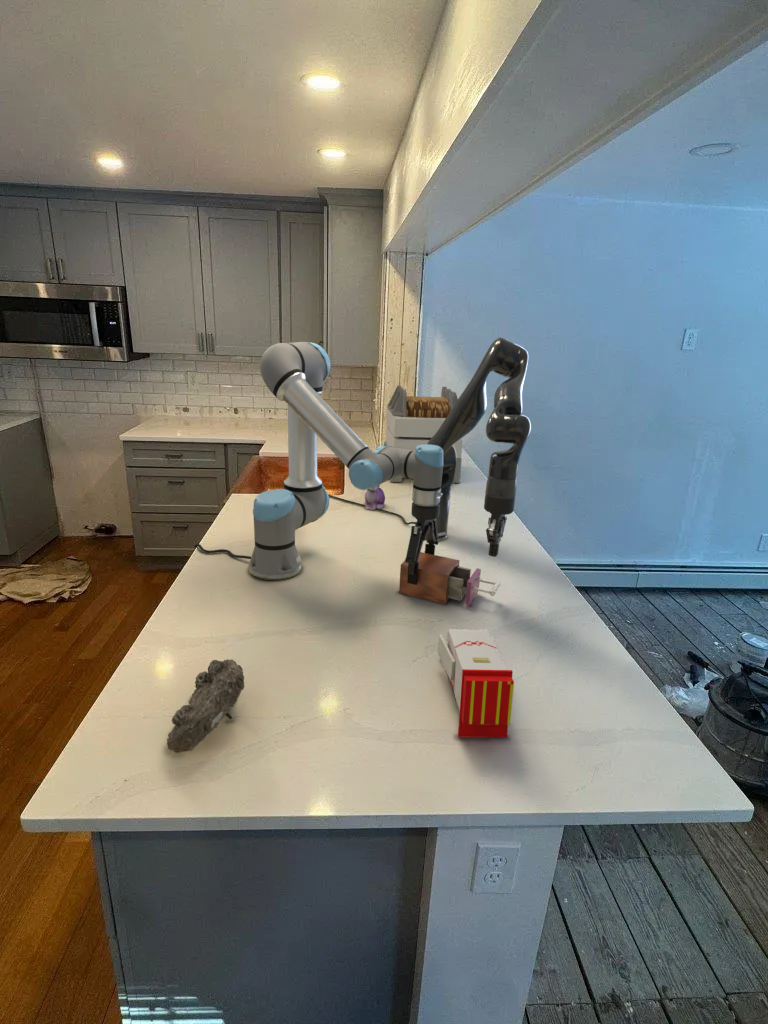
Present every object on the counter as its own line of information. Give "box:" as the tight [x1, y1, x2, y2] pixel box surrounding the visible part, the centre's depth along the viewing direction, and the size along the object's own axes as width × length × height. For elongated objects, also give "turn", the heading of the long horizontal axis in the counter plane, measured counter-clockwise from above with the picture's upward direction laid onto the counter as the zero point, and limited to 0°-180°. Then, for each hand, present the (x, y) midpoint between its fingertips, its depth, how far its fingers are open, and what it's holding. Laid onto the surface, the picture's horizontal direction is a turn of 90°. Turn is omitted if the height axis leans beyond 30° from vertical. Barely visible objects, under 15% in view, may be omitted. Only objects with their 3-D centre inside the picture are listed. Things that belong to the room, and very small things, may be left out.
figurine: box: [363, 484, 386, 511], centre depth 223 cm, size 9×10×15 cm
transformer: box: [383, 384, 464, 484], centre depth 268 cm, size 34×33×41 cm
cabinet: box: [398, 551, 460, 605], centre depth 159 cm, size 14×11×9 cm
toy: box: [437, 628, 515, 738], centre depth 117 cm, size 12×13×30 cm
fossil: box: [166, 658, 245, 754], centre depth 106 cm, size 22×10×15 cm
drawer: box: [447, 565, 501, 607], centre depth 156 cm, size 18×10×7 cm, turn 66°
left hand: (420, 574), depth 160 cm, fingers open, 12 cm apart
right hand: (493, 555), depth 149 cm, fingers closed
